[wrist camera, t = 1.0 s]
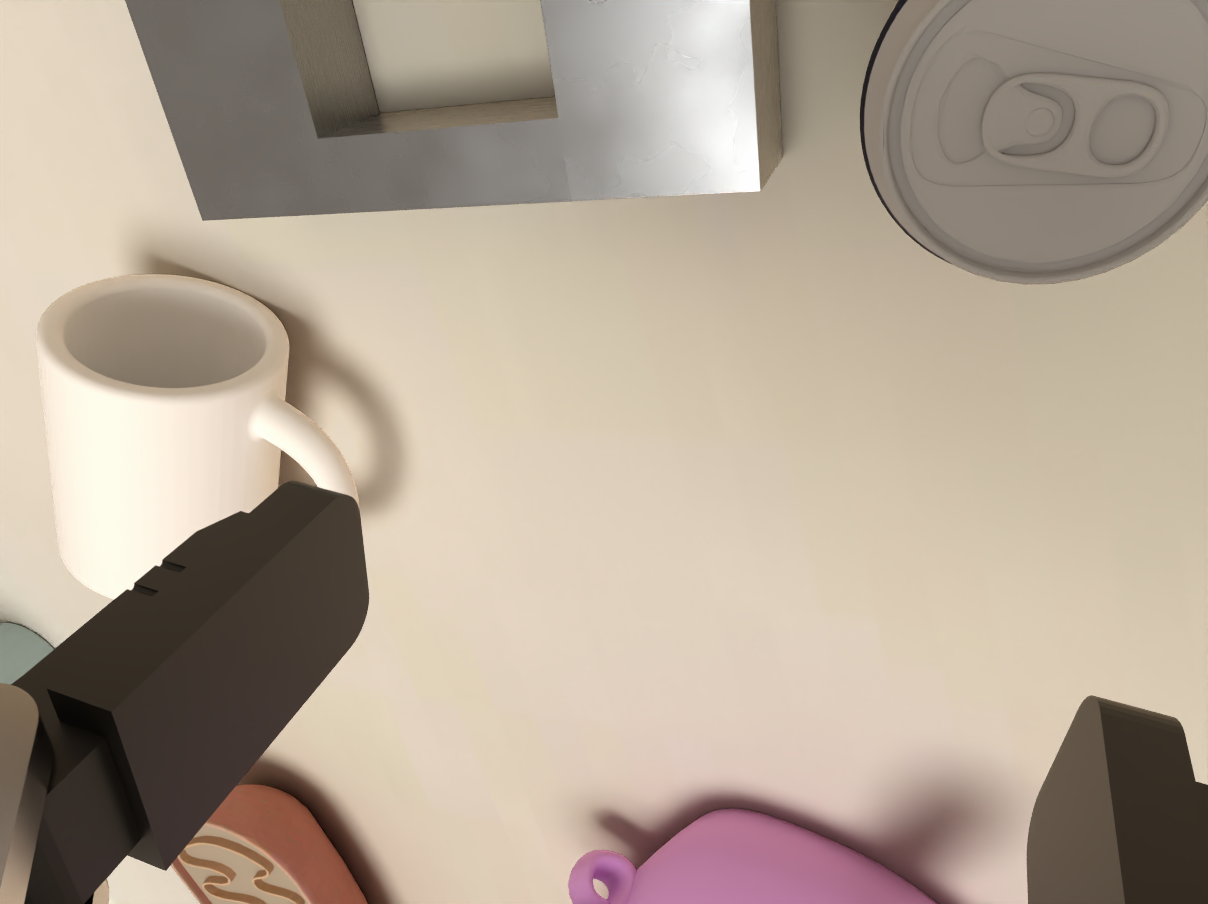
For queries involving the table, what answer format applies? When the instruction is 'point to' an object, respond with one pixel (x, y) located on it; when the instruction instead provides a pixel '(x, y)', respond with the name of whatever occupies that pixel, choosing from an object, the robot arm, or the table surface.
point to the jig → (464, 109)
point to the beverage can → (1039, 130)
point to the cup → (19, 651)
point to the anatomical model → (264, 854)
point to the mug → (165, 419)
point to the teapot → (742, 868)
